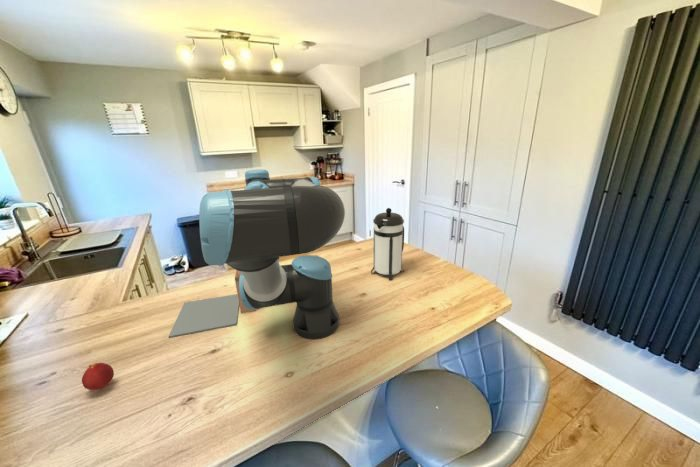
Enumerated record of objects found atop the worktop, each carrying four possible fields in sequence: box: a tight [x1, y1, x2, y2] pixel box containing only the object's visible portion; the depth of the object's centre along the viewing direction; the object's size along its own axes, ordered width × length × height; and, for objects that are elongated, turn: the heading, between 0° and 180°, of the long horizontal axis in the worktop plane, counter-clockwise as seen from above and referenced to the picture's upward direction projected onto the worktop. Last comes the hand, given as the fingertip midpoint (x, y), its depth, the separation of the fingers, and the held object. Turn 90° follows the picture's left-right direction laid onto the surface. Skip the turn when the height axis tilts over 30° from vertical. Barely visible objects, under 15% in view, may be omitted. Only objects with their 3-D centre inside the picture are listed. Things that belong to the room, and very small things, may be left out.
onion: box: [81, 362, 115, 391], centre depth 69 cm, size 6×6×8 cm
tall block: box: [234, 269, 257, 314], centre depth 101 cm, size 7×5×14 cm
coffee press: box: [370, 207, 405, 281], centre depth 122 cm, size 17×16×30 cm
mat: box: [168, 293, 240, 339], centre depth 100 cm, size 20×20×1 cm
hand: (270, 278), depth 102 cm, fingers closed
